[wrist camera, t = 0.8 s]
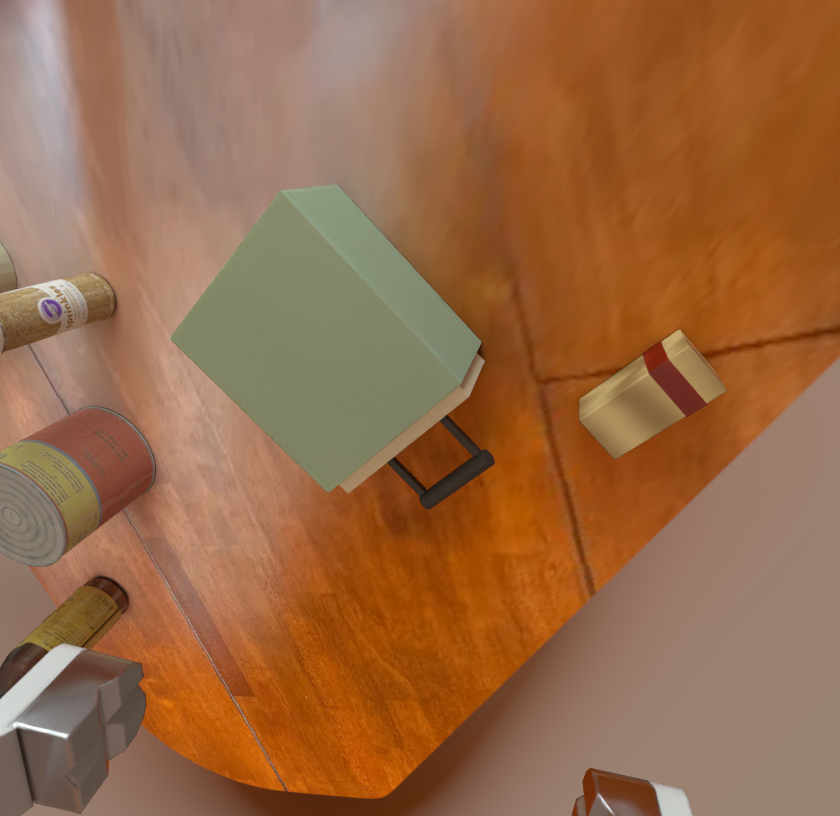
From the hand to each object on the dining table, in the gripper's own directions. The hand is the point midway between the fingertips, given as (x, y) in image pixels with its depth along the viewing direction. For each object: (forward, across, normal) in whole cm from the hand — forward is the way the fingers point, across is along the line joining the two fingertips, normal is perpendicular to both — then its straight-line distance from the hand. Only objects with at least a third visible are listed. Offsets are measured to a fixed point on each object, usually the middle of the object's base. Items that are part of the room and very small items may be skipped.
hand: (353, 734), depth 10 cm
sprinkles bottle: (+40, +36, +4) cm, 54 cm away
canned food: (+41, +38, +22) cm, 60 cm away
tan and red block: (+35, -14, +3) cm, 38 cm away
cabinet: (+37, +10, +2) cm, 39 cm away
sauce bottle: (+43, +41, +44) cm, 74 cm away
